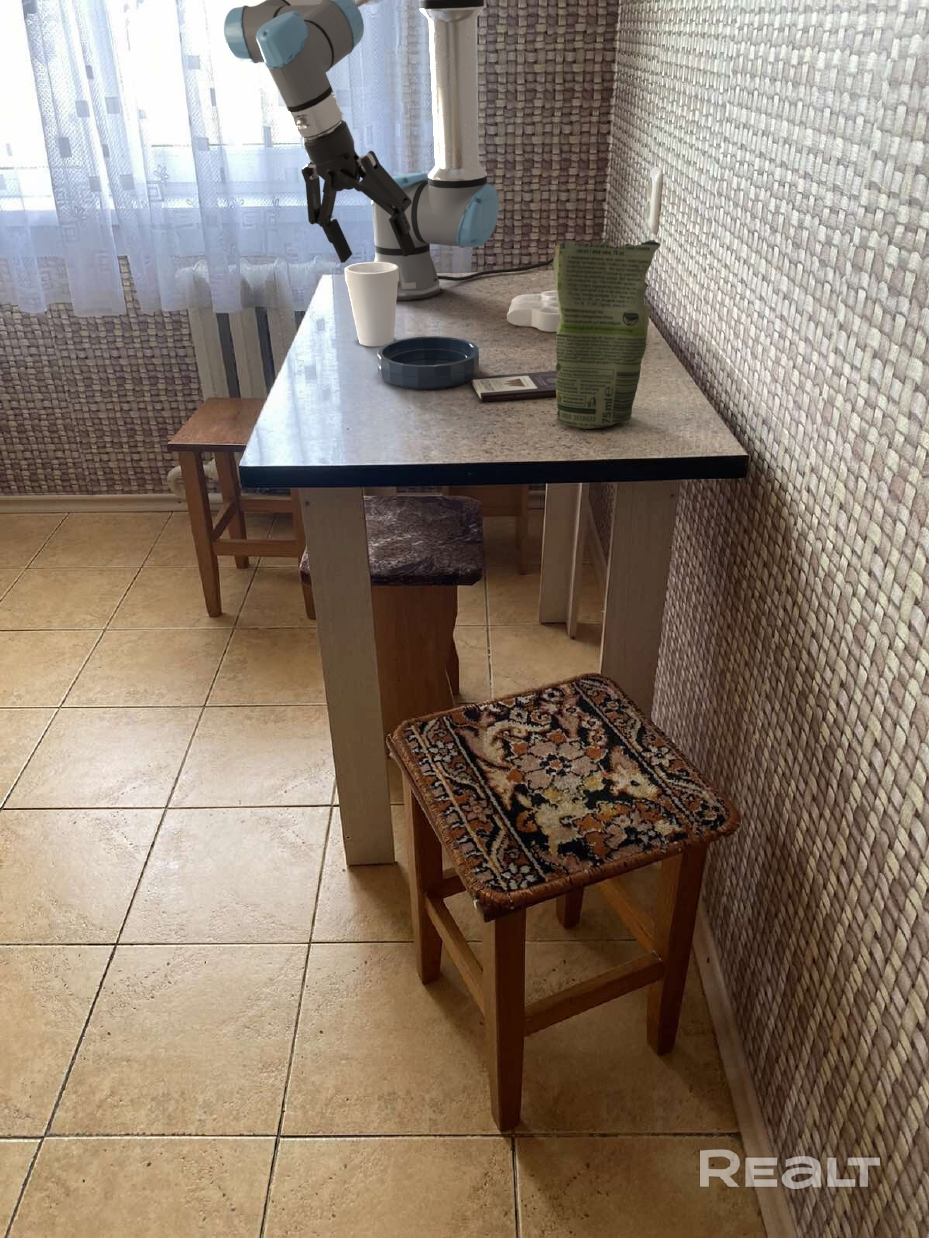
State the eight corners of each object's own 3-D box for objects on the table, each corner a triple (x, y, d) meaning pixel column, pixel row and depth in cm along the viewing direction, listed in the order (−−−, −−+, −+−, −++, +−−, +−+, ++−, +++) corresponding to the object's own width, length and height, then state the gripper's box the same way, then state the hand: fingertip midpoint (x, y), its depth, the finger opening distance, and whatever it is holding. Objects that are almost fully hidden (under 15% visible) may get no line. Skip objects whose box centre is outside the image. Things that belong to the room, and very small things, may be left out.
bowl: (442, 353, 166) (441, 330, 164) (499, 377, 155) (499, 353, 153) (360, 372, 158) (358, 348, 156) (414, 398, 147) (413, 373, 145)
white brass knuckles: (513, 306, 192) (585, 308, 191) (505, 331, 177) (583, 333, 176) (513, 289, 190) (586, 290, 189) (505, 313, 175) (584, 314, 174)
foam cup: (393, 350, 168) (389, 274, 161) (344, 348, 170) (338, 273, 163) (407, 335, 176) (403, 262, 169) (359, 333, 178) (354, 261, 171)
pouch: (539, 417, 139) (544, 238, 125) (597, 399, 145) (608, 226, 131) (592, 439, 131) (604, 251, 118) (651, 419, 137) (668, 238, 124)
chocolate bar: (595, 386, 147) (482, 395, 144) (594, 392, 147) (482, 401, 145) (578, 369, 154) (471, 377, 152) (578, 374, 155) (471, 383, 152)
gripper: (251, 152, 150) (311, 272, 164) (373, 128, 137) (426, 262, 151) (277, 130, 154) (333, 249, 168) (398, 104, 140) (448, 236, 155)
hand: (377, 255), depth 160 cm, fingers open, 13 cm apart
